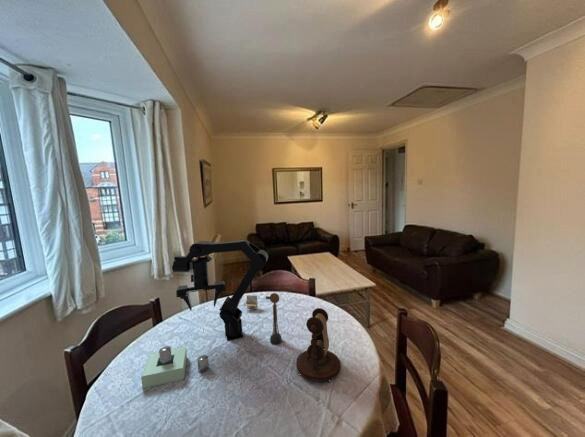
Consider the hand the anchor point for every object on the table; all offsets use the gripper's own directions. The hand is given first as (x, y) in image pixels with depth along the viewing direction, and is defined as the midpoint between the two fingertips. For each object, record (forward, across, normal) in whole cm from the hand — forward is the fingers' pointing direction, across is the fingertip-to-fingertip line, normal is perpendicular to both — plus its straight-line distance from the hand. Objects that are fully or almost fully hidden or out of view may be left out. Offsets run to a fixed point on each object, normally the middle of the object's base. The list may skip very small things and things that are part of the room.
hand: (202, 308), depth 109 cm
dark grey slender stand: (+12, -27, +14) cm, 33 cm away
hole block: (+12, +12, +19) cm, 25 cm away
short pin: (+12, 0, +22) cm, 25 cm away
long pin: (+12, +12, +19) cm, 25 cm away
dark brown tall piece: (+12, -37, +35) cm, 52 cm away
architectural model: (+13, -23, -18) cm, 31 cm away
